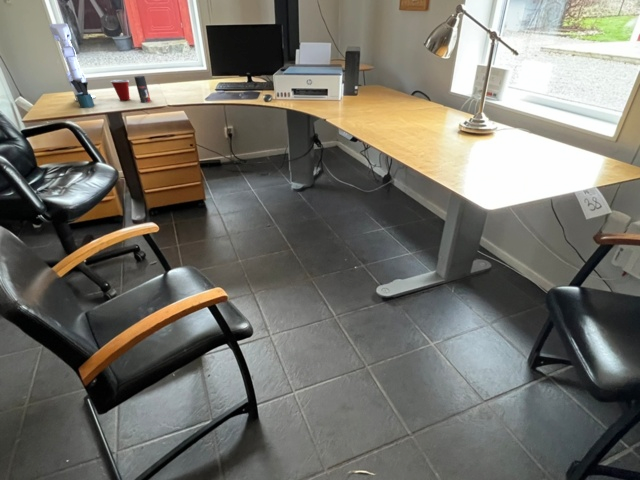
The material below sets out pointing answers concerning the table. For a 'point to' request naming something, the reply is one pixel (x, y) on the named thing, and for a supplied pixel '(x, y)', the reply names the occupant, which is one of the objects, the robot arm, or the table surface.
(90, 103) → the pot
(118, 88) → the plastic cup
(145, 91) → the deodorant
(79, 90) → the robot arm
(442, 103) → the table surface
